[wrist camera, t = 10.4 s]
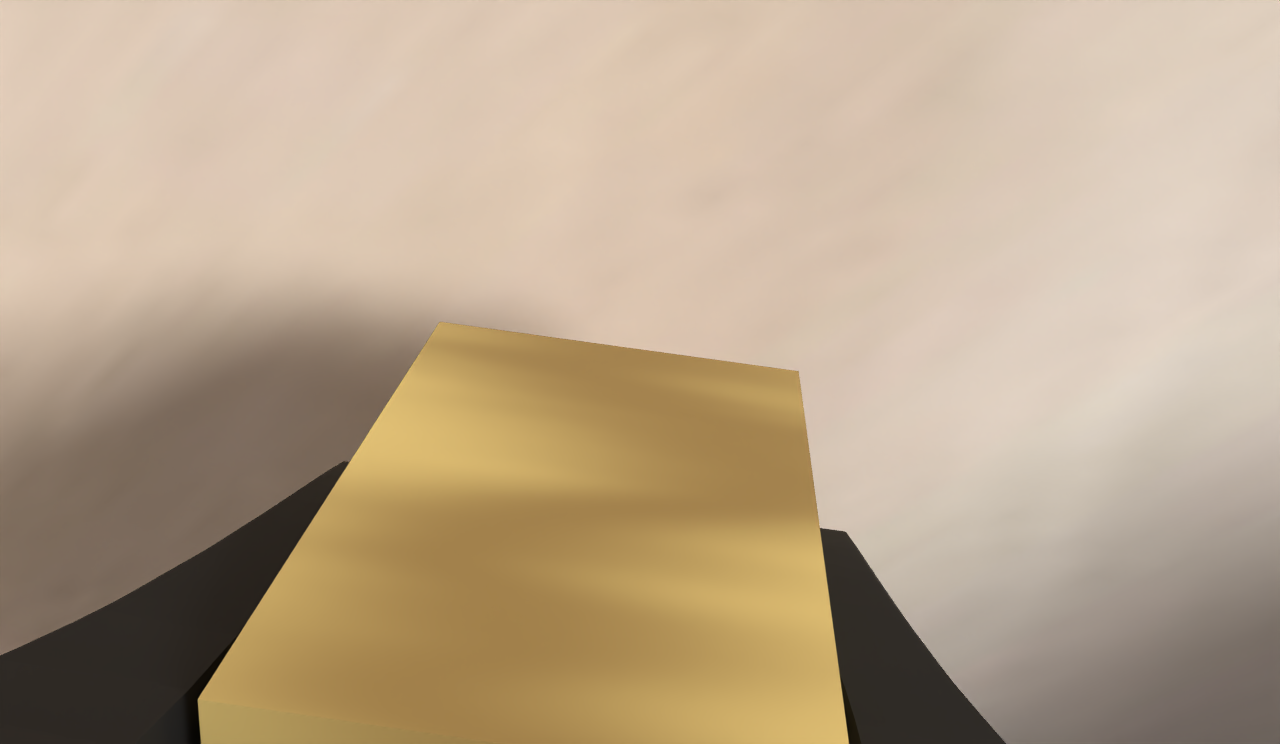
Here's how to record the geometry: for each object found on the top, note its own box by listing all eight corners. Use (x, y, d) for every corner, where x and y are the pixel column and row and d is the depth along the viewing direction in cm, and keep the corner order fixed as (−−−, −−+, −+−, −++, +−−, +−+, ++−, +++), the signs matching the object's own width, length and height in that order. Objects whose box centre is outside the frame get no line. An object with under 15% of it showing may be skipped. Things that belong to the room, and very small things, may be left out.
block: (799, 371, 12) (856, 795, 6) (741, 656, 14) (748, 1180, 8) (439, 321, 12) (196, 699, 7) (428, 611, 14) (229, 1101, 8)
